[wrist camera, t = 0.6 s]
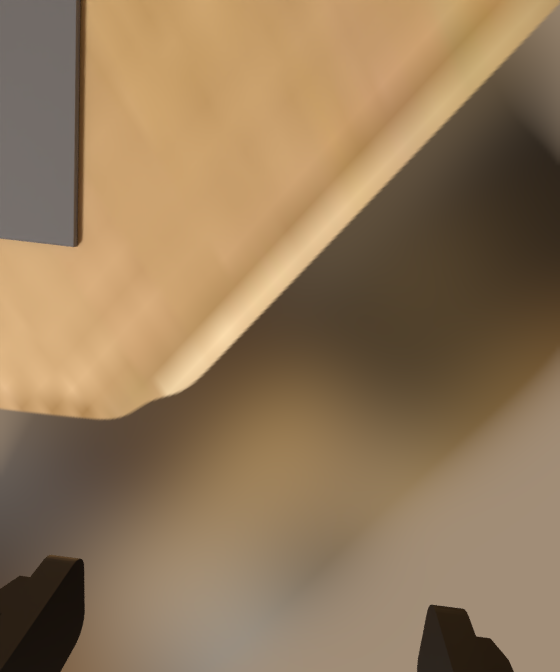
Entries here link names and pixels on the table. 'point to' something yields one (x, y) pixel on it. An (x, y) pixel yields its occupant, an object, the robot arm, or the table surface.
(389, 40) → the table surface
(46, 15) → the mat
